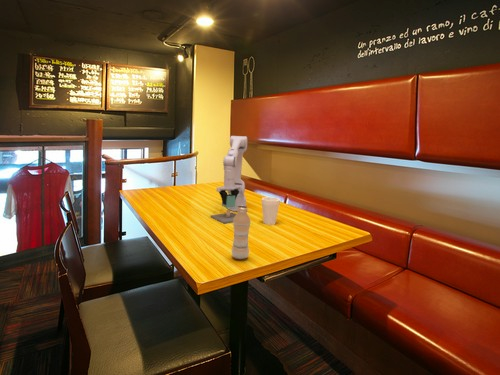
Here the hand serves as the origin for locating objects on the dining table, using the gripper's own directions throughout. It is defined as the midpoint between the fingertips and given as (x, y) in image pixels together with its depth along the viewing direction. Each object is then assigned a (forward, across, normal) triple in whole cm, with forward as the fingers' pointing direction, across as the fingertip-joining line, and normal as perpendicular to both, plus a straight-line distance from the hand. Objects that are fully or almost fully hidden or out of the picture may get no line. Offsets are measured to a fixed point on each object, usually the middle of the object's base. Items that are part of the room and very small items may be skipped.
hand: (228, 203), depth 171 cm
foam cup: (+9, +15, -17) cm, 24 cm away
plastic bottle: (+9, -25, -47) cm, 54 cm away
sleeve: (+1, 0, 0) cm, 1 cm away
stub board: (+8, 0, 0) cm, 8 cm away
